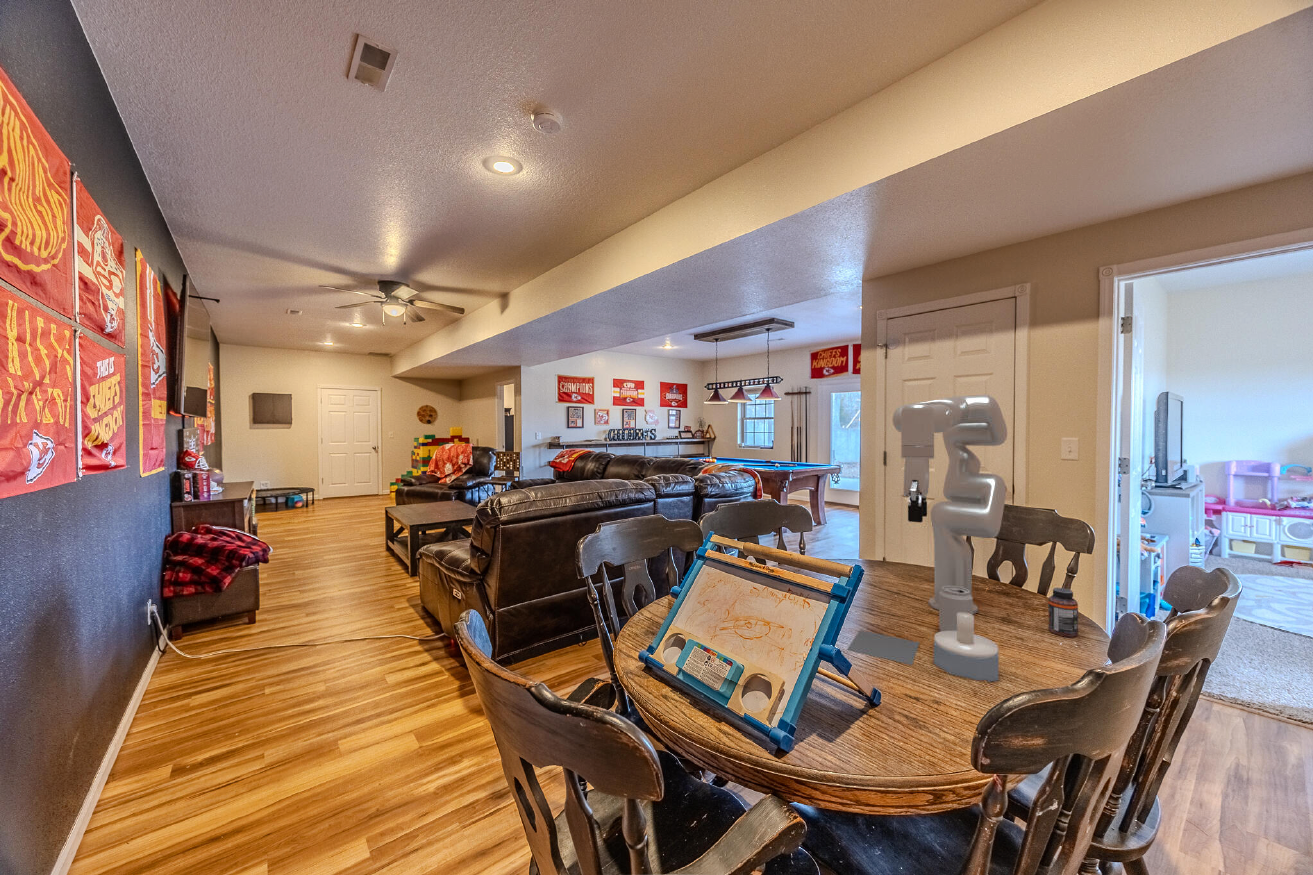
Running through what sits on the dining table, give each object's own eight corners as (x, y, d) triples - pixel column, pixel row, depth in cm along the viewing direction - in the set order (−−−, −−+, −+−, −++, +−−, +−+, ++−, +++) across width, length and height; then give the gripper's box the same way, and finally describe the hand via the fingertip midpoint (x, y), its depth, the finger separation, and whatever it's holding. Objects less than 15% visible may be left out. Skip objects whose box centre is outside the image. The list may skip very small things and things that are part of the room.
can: (978, 641, 124) (977, 594, 124) (945, 639, 125) (945, 592, 125) (965, 629, 131) (965, 584, 131) (934, 627, 133) (934, 583, 132)
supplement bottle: (1048, 626, 133) (1048, 584, 132) (1077, 632, 129) (1077, 589, 129) (1048, 633, 128) (1048, 590, 128) (1078, 640, 124) (1078, 595, 124)
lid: (936, 630, 118) (936, 601, 118) (997, 642, 112) (997, 611, 112) (932, 649, 108) (931, 617, 108) (998, 663, 102) (998, 629, 102)
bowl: (937, 651, 118) (937, 631, 118) (998, 664, 112) (998, 642, 112) (932, 672, 108) (932, 649, 108) (998, 687, 102) (998, 663, 102)
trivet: (859, 632, 130) (859, 630, 130) (919, 644, 122) (919, 642, 122) (846, 652, 119) (846, 649, 119) (911, 667, 111) (911, 664, 111)
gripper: (906, 451, 136) (906, 512, 137) (895, 453, 122) (896, 522, 122) (937, 451, 132) (937, 515, 132) (930, 454, 118) (930, 525, 118)
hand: (917, 518), depth 127 cm, fingers open, 9 cm apart
